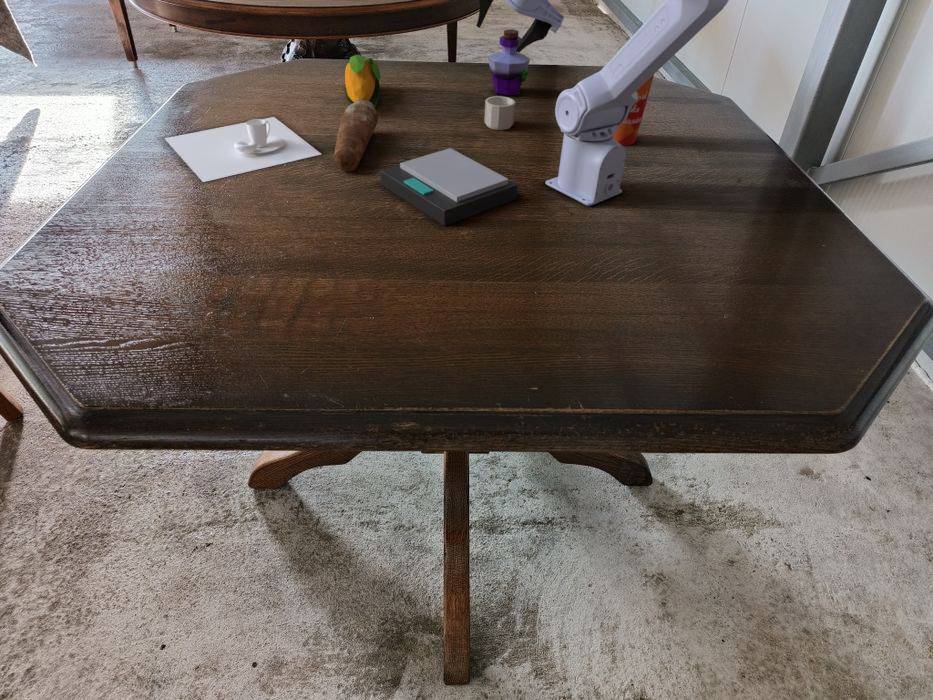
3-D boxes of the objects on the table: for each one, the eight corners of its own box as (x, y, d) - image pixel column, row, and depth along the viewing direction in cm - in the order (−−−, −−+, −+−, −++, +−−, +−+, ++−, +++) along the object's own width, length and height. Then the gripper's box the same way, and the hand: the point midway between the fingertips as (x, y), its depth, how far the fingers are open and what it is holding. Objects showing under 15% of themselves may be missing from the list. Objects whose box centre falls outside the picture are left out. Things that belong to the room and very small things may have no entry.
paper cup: (597, 144, 113) (611, 62, 104) (600, 129, 119) (614, 50, 110) (641, 150, 112) (659, 67, 103) (642, 134, 117) (660, 55, 108)
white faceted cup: (518, 126, 118) (521, 102, 115) (497, 133, 115) (499, 108, 113) (499, 118, 121) (501, 94, 118) (478, 123, 119) (479, 99, 116)
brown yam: (379, 130, 114) (378, 99, 111) (361, 176, 100) (359, 142, 96) (345, 128, 114) (342, 97, 111) (322, 174, 100) (318, 139, 96)
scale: (516, 199, 96) (518, 179, 94) (444, 226, 89) (444, 205, 86) (450, 163, 105) (451, 144, 103) (381, 185, 98) (380, 165, 96)
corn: (377, 45, 128) (379, 76, 113) (382, 84, 133) (384, 118, 118) (341, 48, 128) (338, 80, 113) (347, 86, 133) (345, 122, 118)
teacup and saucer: (241, 160, 102) (236, 136, 100) (224, 144, 107) (219, 120, 105) (291, 149, 107) (288, 125, 104) (273, 133, 111) (269, 110, 109)
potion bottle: (527, 100, 129) (533, 37, 122) (486, 98, 130) (489, 35, 122) (526, 86, 136) (532, 26, 128) (486, 84, 136) (490, 24, 128)
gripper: (584, -18, 95) (543, 42, 108) (503, -74, 92) (470, -6, 104) (571, 13, 93) (530, 71, 105) (487, -43, 90) (455, 24, 102)
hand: (499, 35), depth 105 cm, fingers open, 7 cm apart
